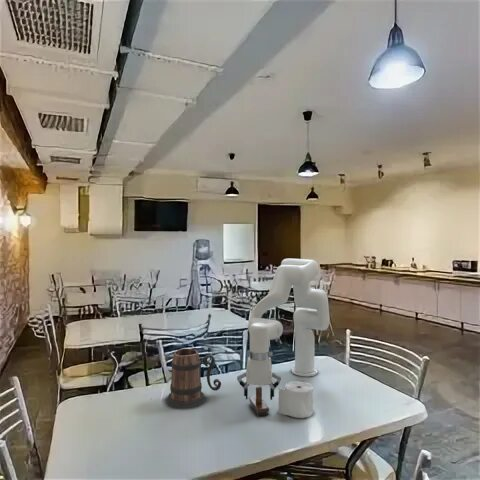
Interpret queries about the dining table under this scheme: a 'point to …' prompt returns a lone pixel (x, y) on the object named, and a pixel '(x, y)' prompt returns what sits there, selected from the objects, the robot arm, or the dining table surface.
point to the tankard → (188, 379)
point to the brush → (259, 403)
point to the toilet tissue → (296, 399)
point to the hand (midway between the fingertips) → (258, 398)
